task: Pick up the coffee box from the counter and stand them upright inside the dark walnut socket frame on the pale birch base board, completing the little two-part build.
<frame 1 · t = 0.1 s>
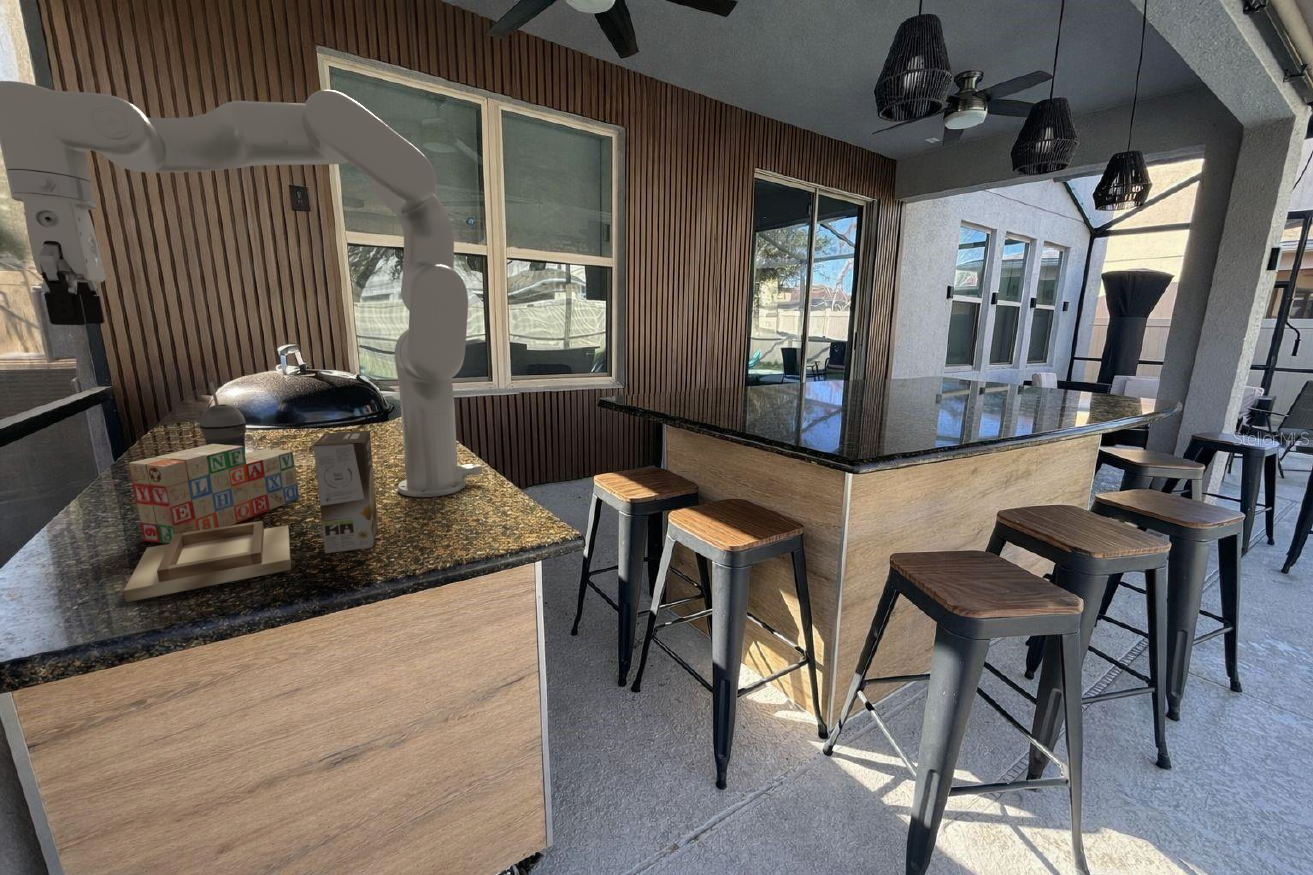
hand: (79, 324, 74), 31 cm above the countertop, tool pointing down, fingers open, 9 cm apart
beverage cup: (231, 482, 107), on the countertop
coffee box: (353, 540, 81), on the countertop
base board: (219, 563, 72), on the countertop
stack of blocks: (230, 519, 88), on the countertop
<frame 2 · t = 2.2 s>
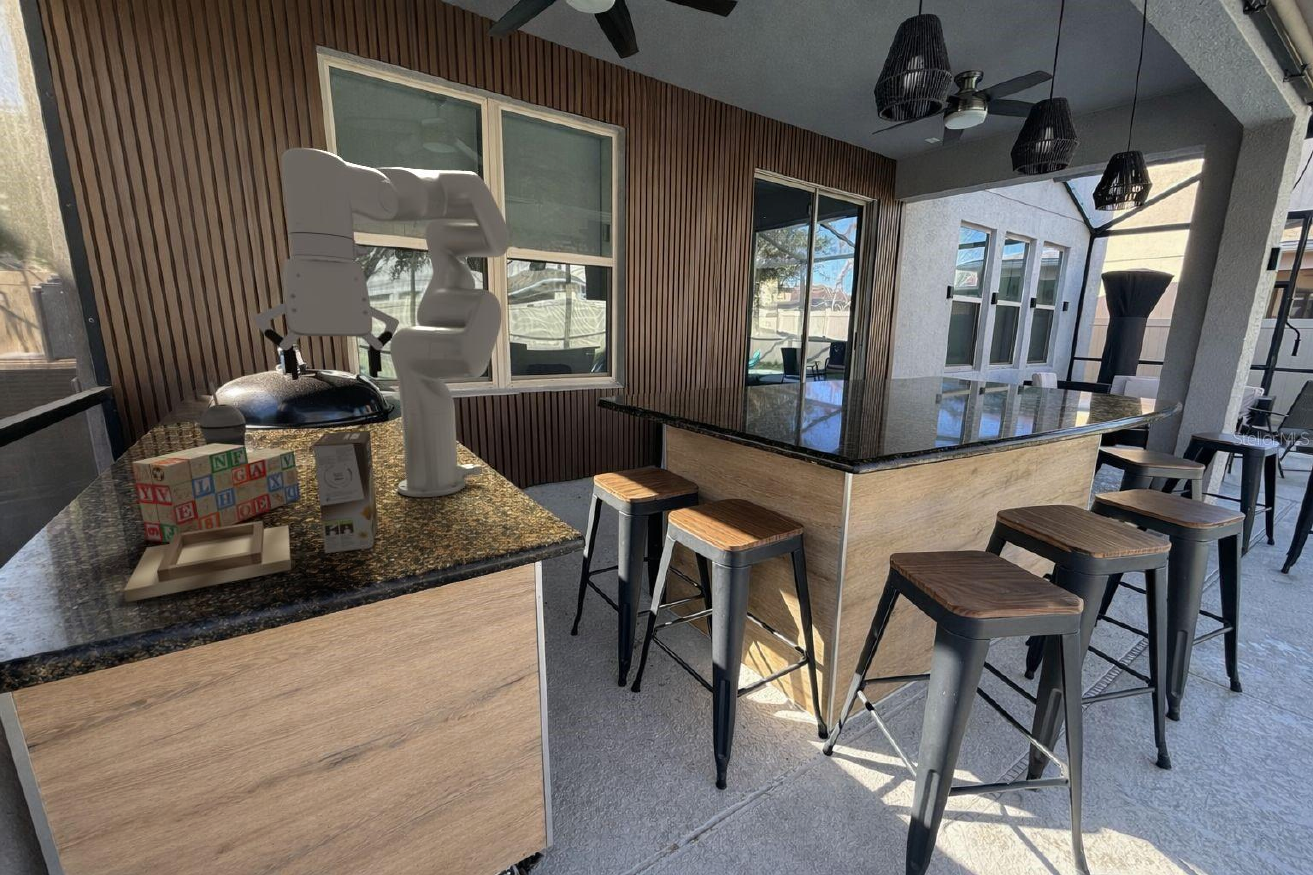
hand: (335, 378, 76), 25 cm above the countertop, tool pointing down, fingers open, 9 cm apart
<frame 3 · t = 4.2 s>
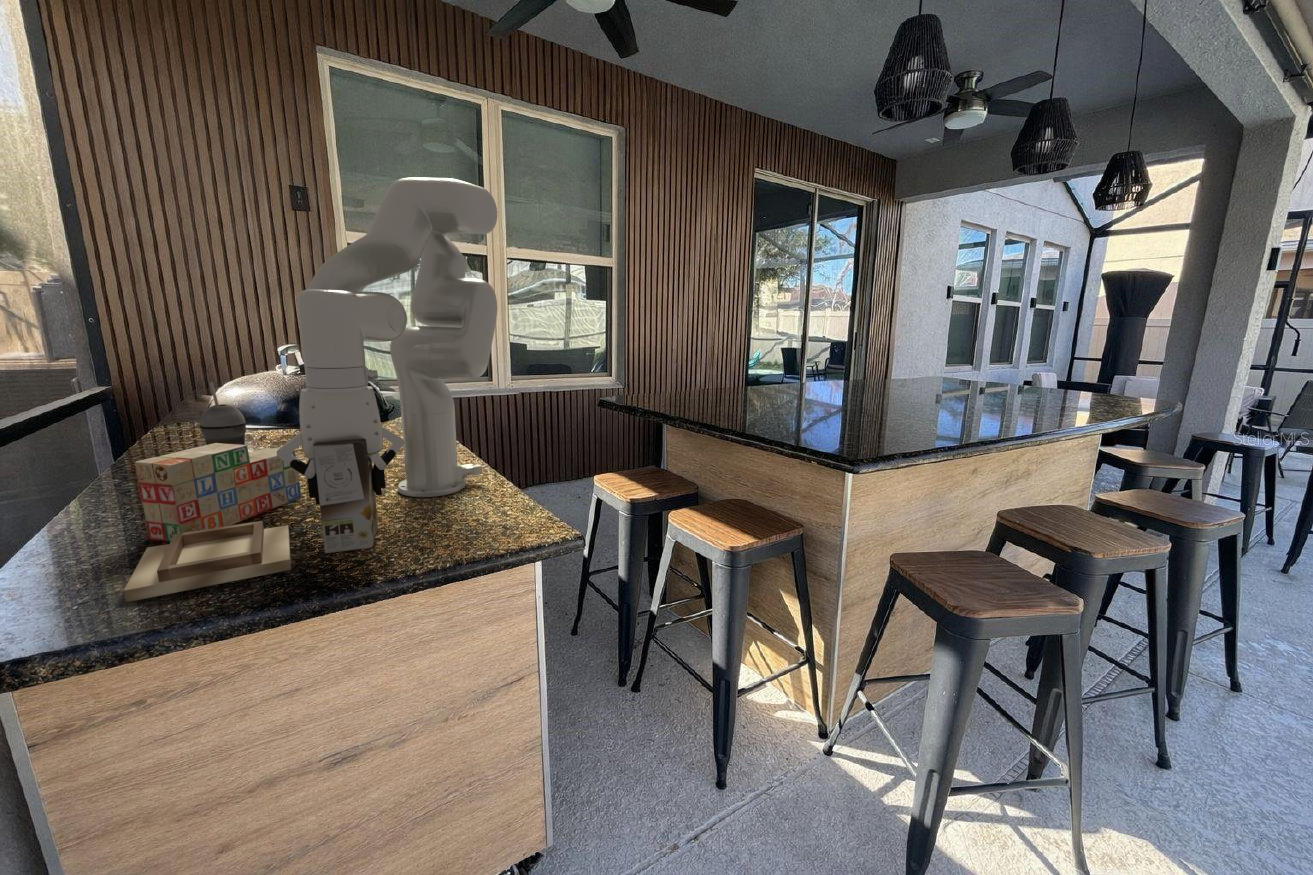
hand: (348, 496, 80), 7 cm above the countertop, tool pointing down, fingers closed on coffee box, 7 cm apart
coffee box: (353, 540, 81), on the countertop, touching gripper
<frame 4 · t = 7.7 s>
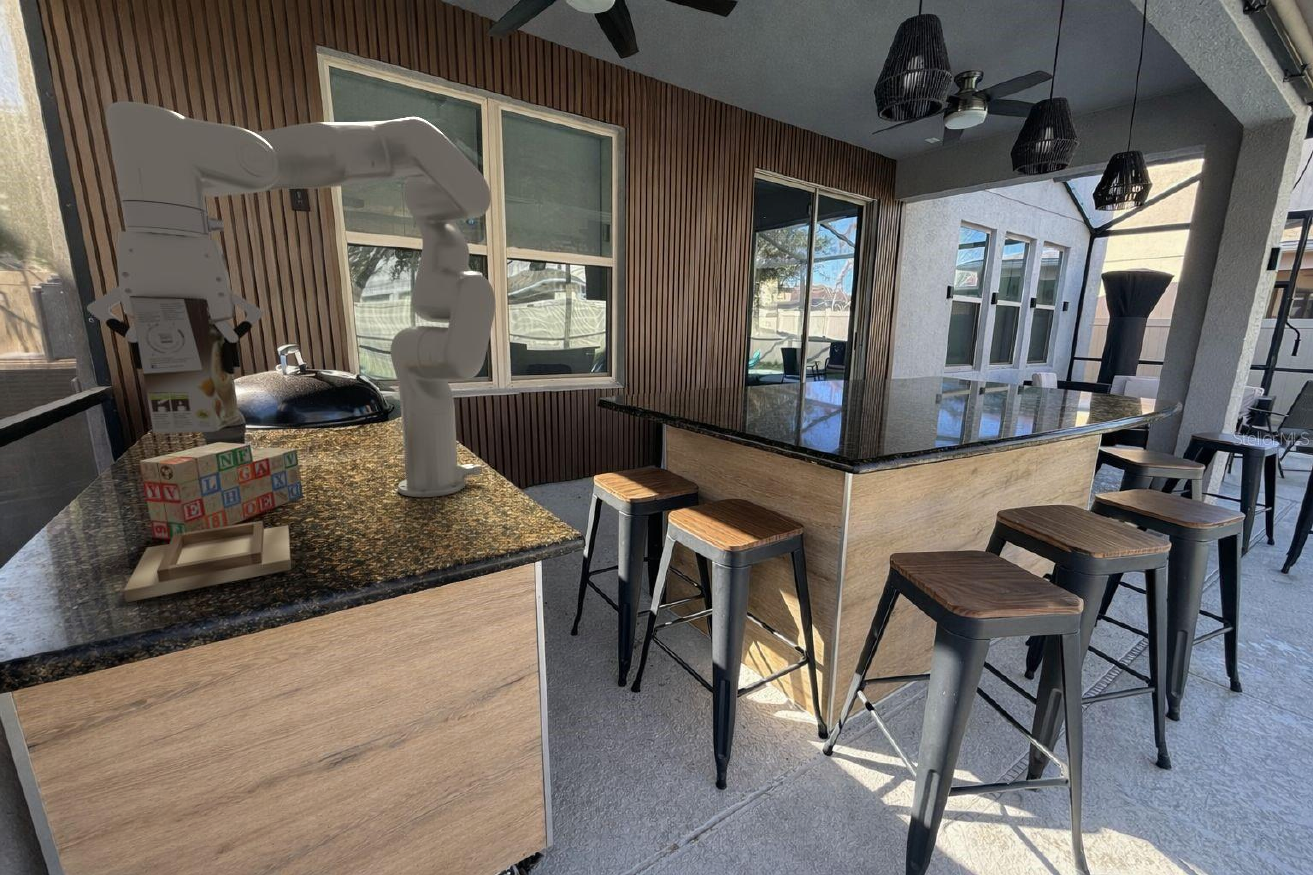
hand: (191, 373, 67), 26 cm above the countertop, tool pointing down, fingers closed on coffee box, 7 cm apart
coffee box: (200, 428, 68), point 19 cm above the countertop, touching gripper
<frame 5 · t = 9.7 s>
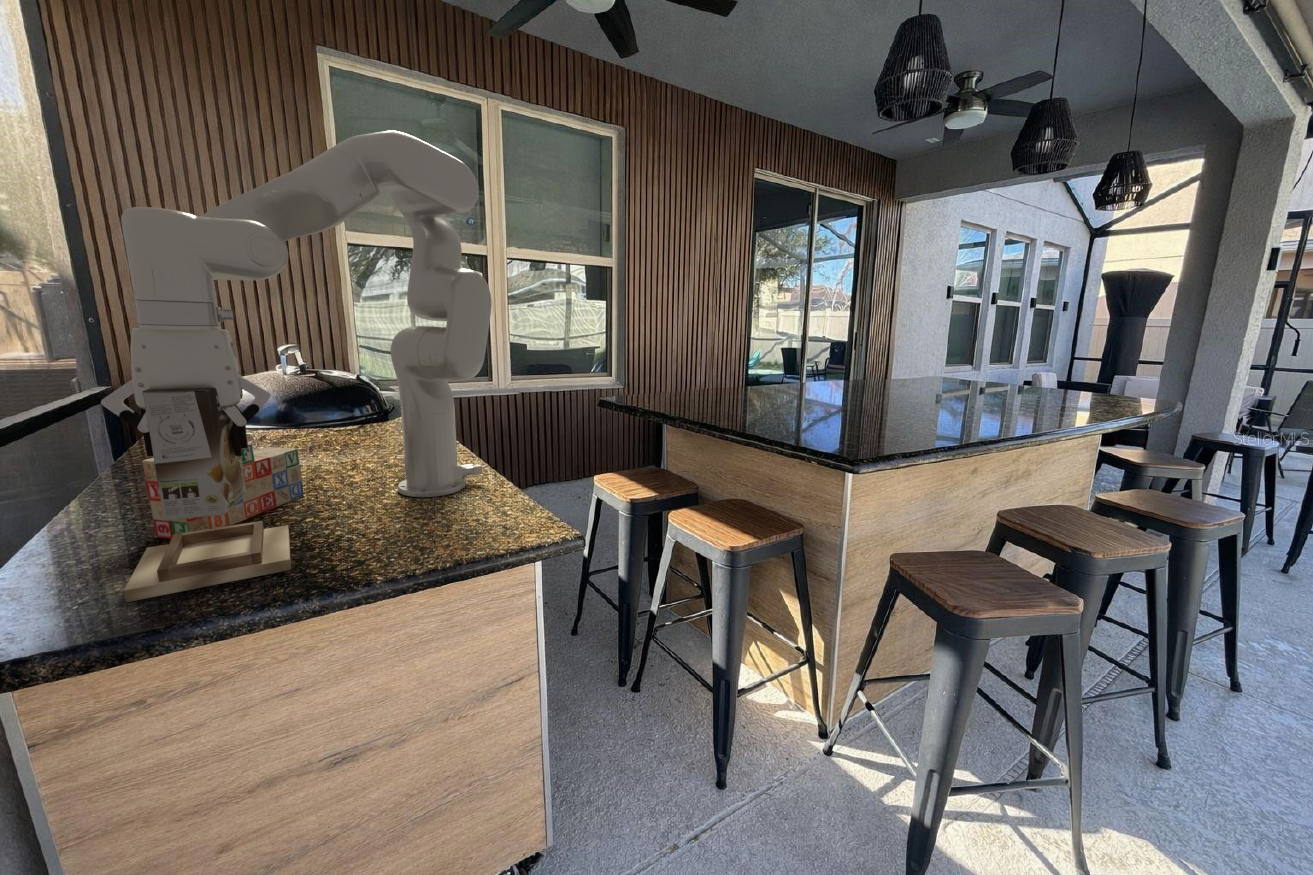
hand: (200, 456, 69), 15 cm above the countertop, tool pointing down, fingers closed on coffee box, 7 cm apart
coffee box: (208, 508, 70), point 8 cm above the countertop, touching gripper
when the fingers open (9 cm above the countertop, at t = 11.4 s): coffee box stays where it is, resting on base board.
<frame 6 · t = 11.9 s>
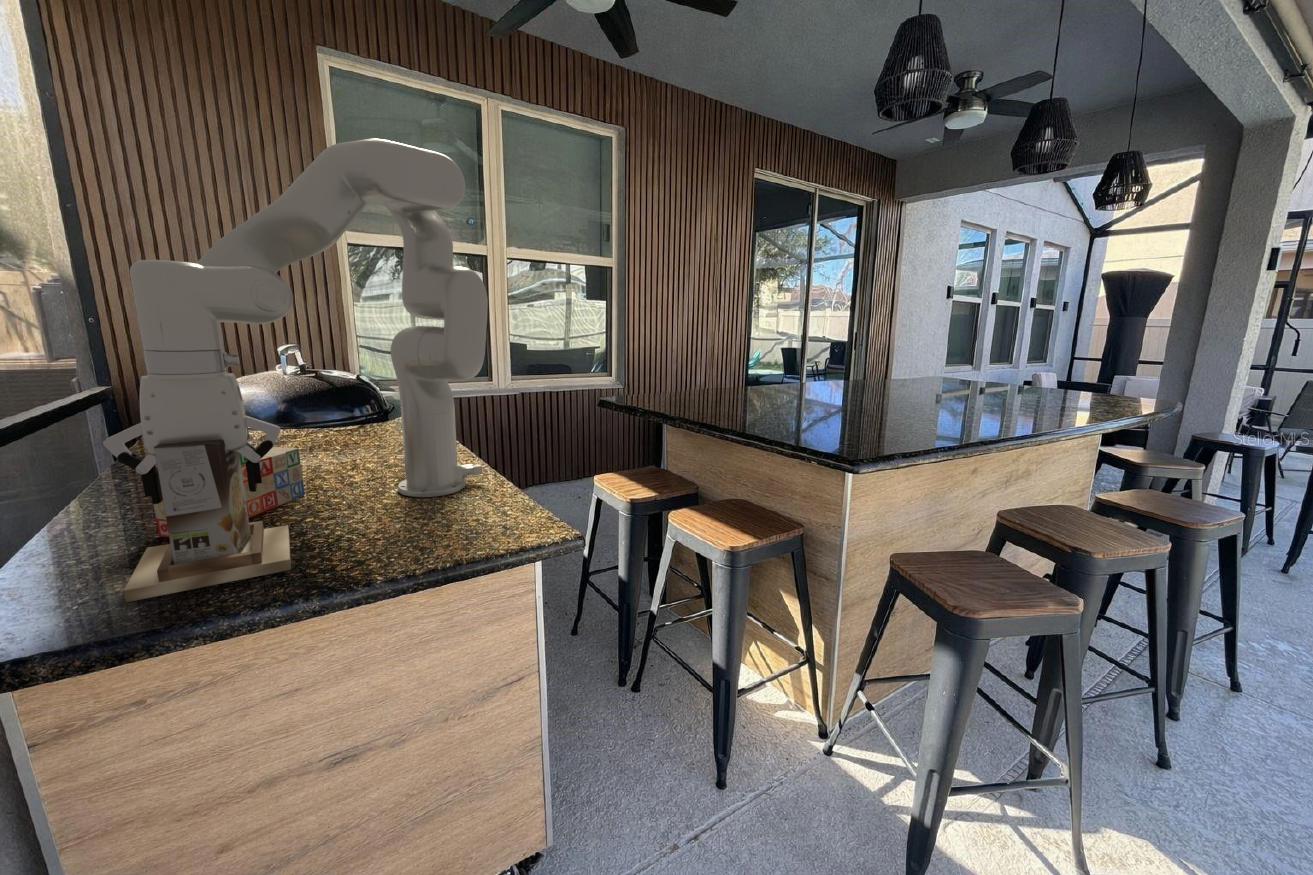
hand: (208, 494, 70), 10 cm above the countertop, tool pointing down, fingers open, 9 cm apart
coffee box: (216, 554, 72), point 1 cm above the countertop, touching base board
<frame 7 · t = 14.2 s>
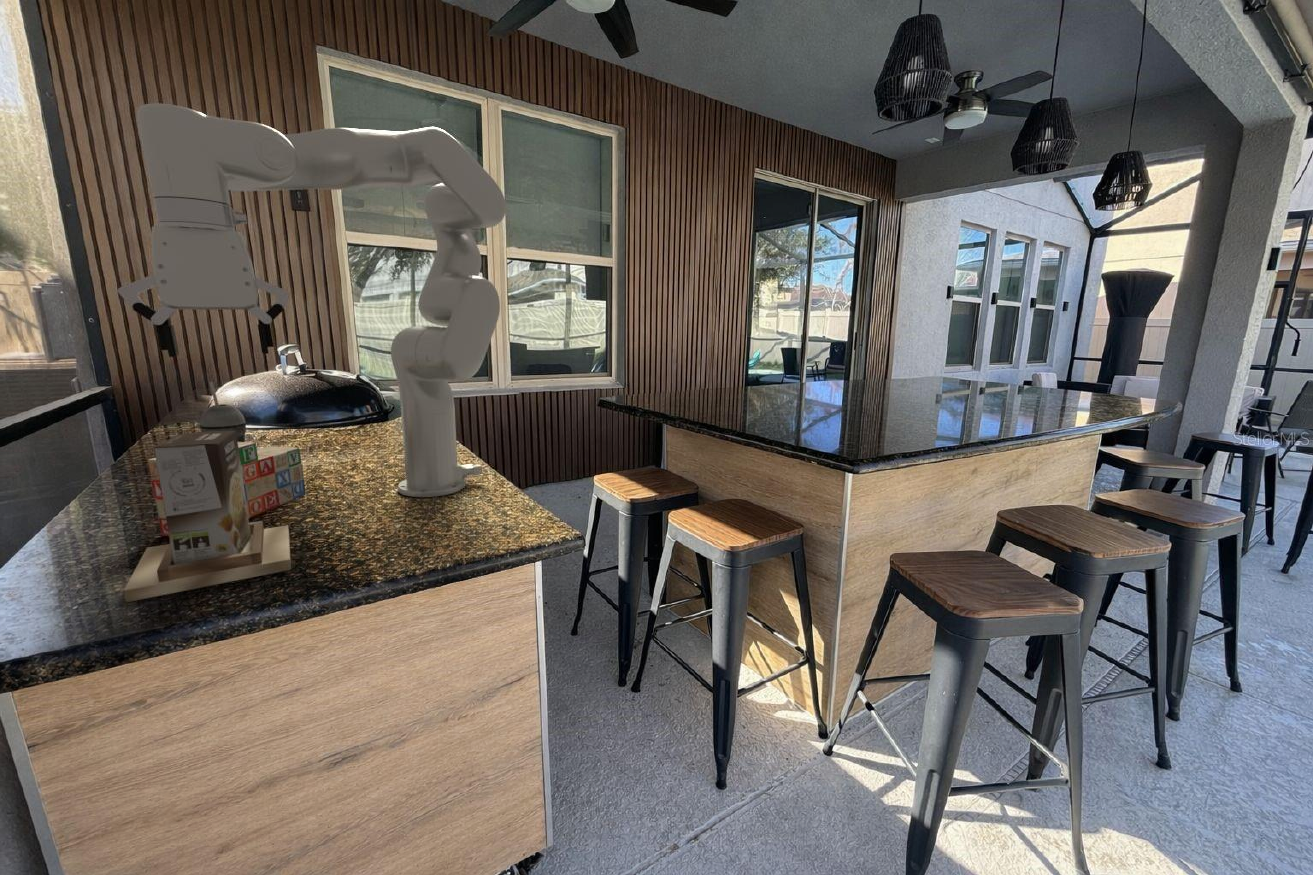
hand: (221, 354, 72), 28 cm above the countertop, tool pointing down, fingers open, 9 cm apart
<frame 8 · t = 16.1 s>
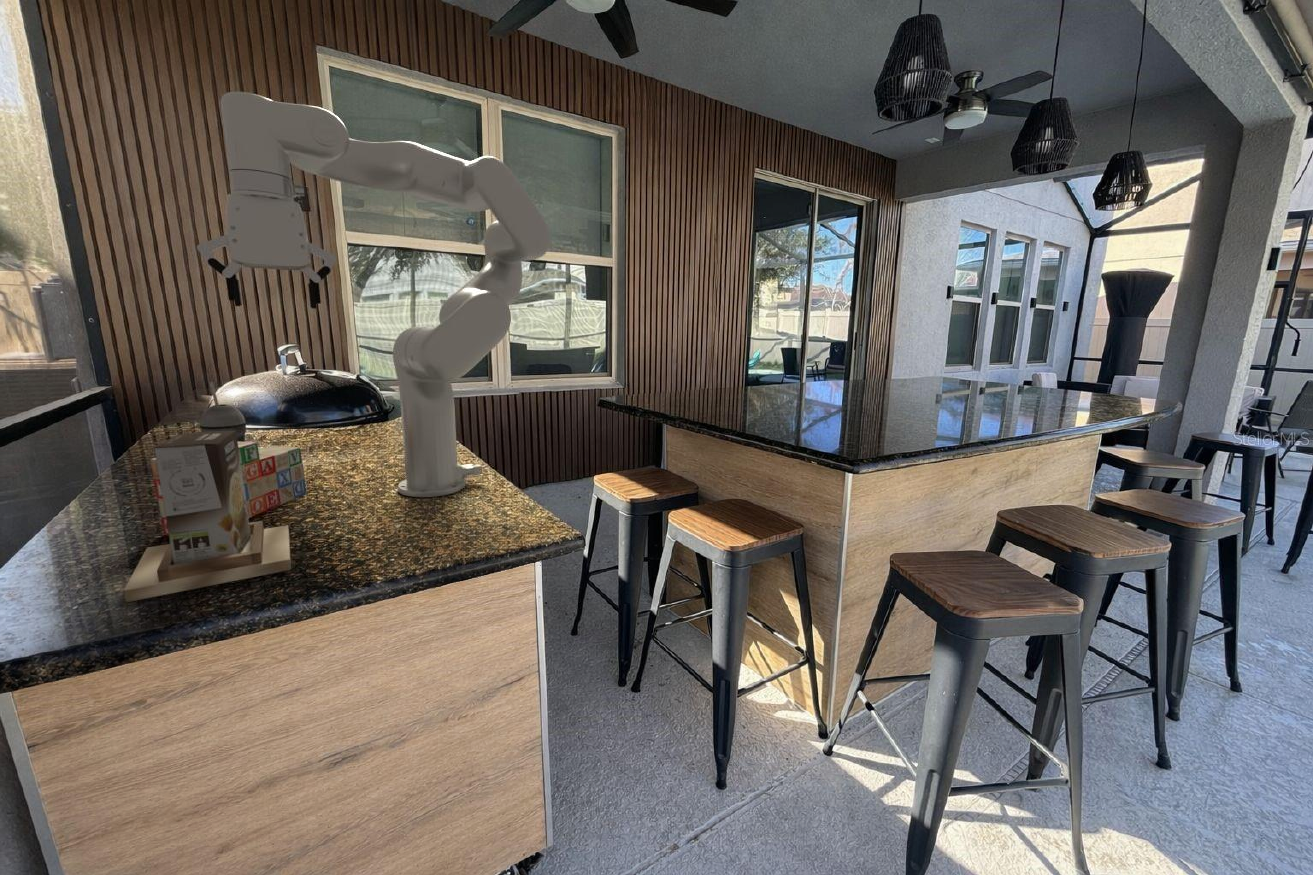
hand: (277, 307, 83), 34 cm above the countertop, tool pointing down, fingers open, 9 cm apart
at the end: coffee box 0.1 cm off-centre on the base board, point 1.3 cm above the base board's base; coffee box tilted 0°; the gripper is holding nothing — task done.
